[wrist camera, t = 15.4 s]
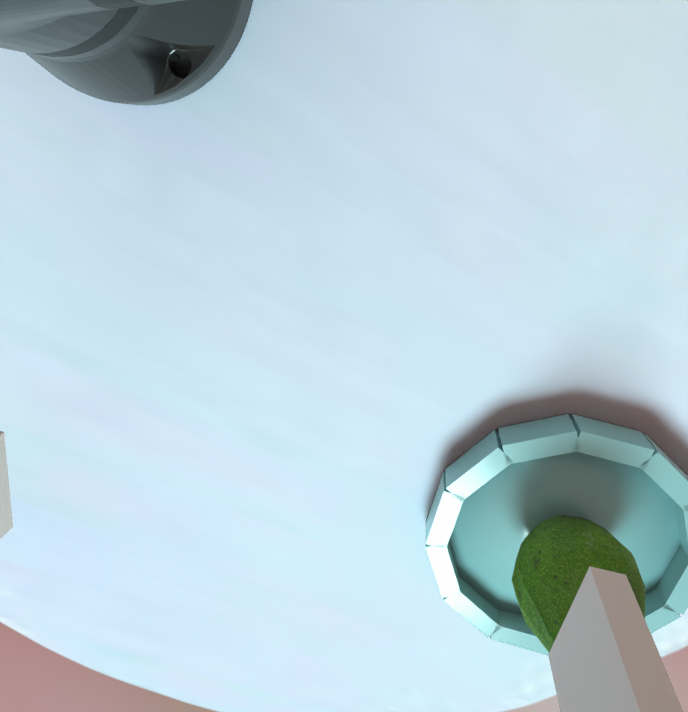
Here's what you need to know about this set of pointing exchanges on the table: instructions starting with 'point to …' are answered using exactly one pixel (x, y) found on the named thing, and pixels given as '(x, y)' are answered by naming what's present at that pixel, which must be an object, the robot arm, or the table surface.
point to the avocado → (565, 570)
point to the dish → (552, 498)
